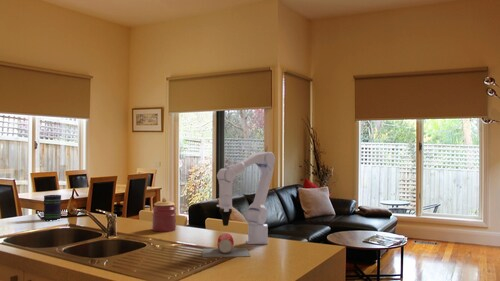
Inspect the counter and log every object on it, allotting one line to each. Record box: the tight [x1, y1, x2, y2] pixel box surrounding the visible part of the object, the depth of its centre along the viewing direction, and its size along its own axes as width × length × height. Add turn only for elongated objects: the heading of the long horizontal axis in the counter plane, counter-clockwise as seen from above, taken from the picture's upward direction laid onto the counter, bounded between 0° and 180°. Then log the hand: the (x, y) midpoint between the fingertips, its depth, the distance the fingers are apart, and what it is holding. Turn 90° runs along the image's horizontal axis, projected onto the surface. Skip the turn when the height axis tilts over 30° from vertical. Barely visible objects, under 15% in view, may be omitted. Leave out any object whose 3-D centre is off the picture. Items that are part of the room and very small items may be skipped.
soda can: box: [216, 232, 235, 253], centre depth 183 cm, size 7×7×12 cm
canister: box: [151, 197, 177, 233], centre depth 232 cm, size 13×13×18 cm
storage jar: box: [43, 194, 62, 221], centre depth 260 cm, size 10×10×15 cm
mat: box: [201, 247, 251, 258], centre depth 181 cm, size 20×14×1 cm
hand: (225, 225), depth 189 cm, fingers closed
